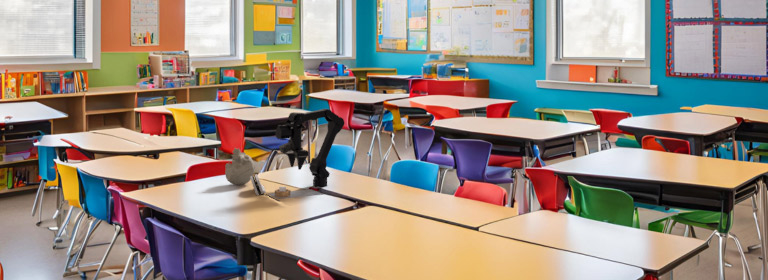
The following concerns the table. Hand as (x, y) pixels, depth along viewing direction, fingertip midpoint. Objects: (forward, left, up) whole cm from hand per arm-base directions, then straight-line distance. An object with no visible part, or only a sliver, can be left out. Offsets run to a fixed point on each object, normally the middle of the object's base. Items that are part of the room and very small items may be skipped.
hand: (295, 168), depth 363 cm
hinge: (+17, -7, -12) cm, 23 cm away
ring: (+12, +11, -11) cm, 19 cm away
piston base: (+5, +11, -12) cm, 17 cm away
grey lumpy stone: (+19, -28, -12) cm, 36 cm away
